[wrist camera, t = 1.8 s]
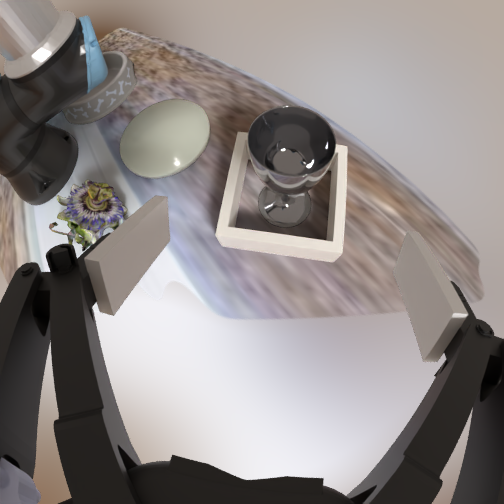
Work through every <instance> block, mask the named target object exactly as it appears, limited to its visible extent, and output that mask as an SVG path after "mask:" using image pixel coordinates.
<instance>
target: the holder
mask: <svg viewBox="0 0 504 504" xmlns="http://www.w3.org/2000/svg"><path fill="white" fill-rule="evenodd" d="M248 159H249V160H251V159H250V155H249V150H248V133H245V132H238V134H237V138H236V142H235V147H234V151H233V155H232V160H231V164H230V169H229V173H228V178H227V182H226V187H225V191H224V196H223V201H222V206H221V210H220V215H219V220H218V225H217V230H216V235H215V236H216V237H217V239H218V240H219V242H220V244H221V245H222V246H223V247H230V248H236V249H243V250H250V251H257V252H264V253H271V254H278V255H285V256H292V257H299V258H306V259H313V260H320V261H327V262H334V261H335V260H336V259H337V258H338V257H339V256H340V255H341V254H342V252H343V240H344V226H345V209H346V186H347V146H342V145H337V144H336V149H335V154H334V157H333V160H332V162H331V164H330V166H329V168H328V170H330V171H331V186H330V201H329V214H328V226H327V237H326V241H325V240H319V239H312V238H305V237H298V236H291V235H284V234H277V233H270V232H263V231H256V230H248V229H241V228H235V225H236V219H237V214H238V209H239V204H240V198H241V193H242V188H243V183H244V178H245V173H246V167H247V162H248Z"/></svg>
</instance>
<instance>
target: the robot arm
mask: <svg viewBox="0 0 504 504" xmlns="http://www.w3.org/2000/svg"><path fill="white" fill-rule="evenodd" d="M0 54H1V55H3V56H4V57H5V58H6V61H5V66H4V72H5V75H4V76H1V74H0V174H2V175H3V176H5V177H6V178H7V179H8V181H9V182H10V184H11V185H12V187H13V188H14V190H15V191H16V192H17V194H18V195H19V197H20V198H21V199H22V200H24V201H26V202H27V203H29V204H31V205H40V204H43V203H45V202H47V201H49V200H50V199H52V198H53V197H54V196H55V195H56V194H57V193H58V192H59V191H60V190H61V189H62V188H63V186H64V185H65V184H66V182H67V181H68V179H69V177H70V176H71V174H72V172H73V169H74V167H75V164H76V161H77V156H78V146H77V143H76V141H75V139H74V138H73V137H72V136H71V135H70V134H69V133H68V132H67V131H65V130H63V129H60V128H57V127H55V126H52V125H50V124H47V123H46V122H47V121H48V120H49V119H51V118H52V117H54V116H55V115H56V114H58V113H59V112H60V111H62V110H63V109H65V108H66V107H68V106H69V105H70V104H72V103H73V102H75V101H76V100H78V99H79V98H81V97H82V96H84V95H86V94H88V93H89V92H90V91H91V90H92V89H93V88H95V87H96V86H98V85H99V84H101V83H102V82H103V81H104V80H105V79H106V77H107V75H108V68H107V65H106V63H105V60H104V57H103V54H102V52H101V49H100V46H99V44H98V41H97V38H96V35H95V32H94V29H93V26H92V23H91V20H90V18H89V16H84V17H80V18H79V19H78V20H77V18H76V17H75V15H74V14H73V13H72V12H70V11H57V10H56V8H55V7H54V5H53V4H52V2H51V1H50V0H0ZM169 241H170V231H169V217H168V199H167V197H165V196H154V197H153V198H152V199H150V200H149V201H148V202H147V203H146V204H144V205H143V206H142V207H141V208H140V209H138V210H137V211H136V212H135V213H134V214H132V215H131V216H130V217H129V218H128V219H127V220H126V221H124V222H123V223H122V224H121V225H120V226H119V227H118V228H116V229H115V230H114V231H113V232H112V233H108V234H106V235H104V236H102V237H100V238H99V239H98V240H97V241H96V242H95V243H94V244H93V245H91V246H90V247H89V249H87V250H86V251H85V252H84V253H83V254H82V255H81V256H80V257H79V258H78V259H77V257H76V253H75V249H74V247H73V245H71V244H60V245H57V246H55V247H53V248H51V249H50V250H49V251H48V252H47V254H46V259H47V262H48V265H49V268H50V271H51V272H41V270H40V267H39V265H38V264H37V263H35V262H31V263H26V264H24V265H22V266H21V267H20V268H18V270H17V271H16V272H15V274H14V276H13V278H12V280H11V282H10V284H9V286H8V288H7V290H6V292H5V294H4V296H3V298H2V300H1V303H0V504H37V503H38V502H40V499H41V495H40V492H39V491H38V490H37V489H36V486H35V484H34V481H33V480H32V479H33V474H34V468H35V459H36V440H37V424H38V414H39V405H40V395H41V389H42V381H43V376H44V370H45V364H46V359H47V354H48V349H49V344H50V340H51V355H52V366H53V376H54V385H55V392H56V400H57V406H58V412H59V419H58V420H55V421H54V432H55V437H56V443H57V447H58V451H59V455H60V460H61V463H62V467H63V471H64V475H65V478H66V481H67V484H68V487H69V491H70V494H71V497H72V498H70V499H68V500H66V501H63V502H61V503H58V504H432V502H433V500H434V499H435V497H436V496H437V494H438V492H439V491H440V489H441V487H442V482H443V481H442V480H441V479H440V475H441V472H442V471H443V469H444V467H445V465H446V464H447V462H448V460H449V458H450V456H451V454H452V452H453V450H454V448H455V446H456V444H457V442H458V440H459V438H460V436H461V434H462V431H463V429H464V427H465V425H466V422H467V420H468V417H469V415H470V413H471V410H472V408H473V412H472V418H471V425H470V430H469V436H468V441H467V446H466V450H465V455H464V459H463V463H462V467H461V471H460V475H459V479H458V482H457V485H456V489H455V492H454V495H453V498H452V501H451V503H450V504H504V339H502V338H499V337H496V336H494V332H493V330H492V328H491V327H490V326H489V325H488V324H487V323H486V322H484V321H482V320H479V319H476V317H475V315H474V313H473V311H472V310H471V308H470V306H469V304H468V302H466V299H465V297H464V296H463V293H462V292H461V290H460V288H459V287H458V286H457V285H456V284H455V283H454V282H453V281H450V280H449V278H448V277H447V275H446V273H445V272H444V270H443V268H442V267H441V265H440V264H439V262H438V260H437V259H436V257H435V256H434V254H433V253H432V251H431V249H430V248H429V246H428V245H427V243H426V242H425V240H424V239H423V237H422V236H421V235H420V233H419V232H415V231H409V230H407V232H406V236H405V239H404V242H403V245H402V248H401V251H400V253H399V256H398V259H397V262H396V265H395V267H394V270H393V274H394V277H395V279H396V282H397V284H398V287H399V290H400V292H401V295H402V298H403V300H404V303H405V306H406V309H407V312H408V315H409V318H410V321H411V324H412V326H413V330H414V333H415V336H416V339H417V342H418V345H419V348H420V352H421V356H422V359H423V362H437V361H438V360H439V359H440V357H441V356H442V354H443V353H445V356H446V361H445V362H444V363H443V365H442V366H441V367H440V369H439V370H438V371H437V373H436V374H435V375H434V376H436V378H435V380H434V381H433V383H432V385H431V387H430V389H429V390H428V392H427V394H426V395H425V397H424V399H423V400H422V402H421V404H420V405H419V407H418V408H417V410H416V412H415V413H414V415H413V416H412V418H411V419H410V421H409V422H408V424H407V425H406V427H405V428H404V430H403V431H402V432H401V434H400V435H399V437H398V438H397V439H396V441H395V442H394V444H393V445H392V446H391V448H390V449H389V450H388V452H387V453H386V454H385V455H384V457H383V458H382V459H381V460H380V462H379V463H378V464H377V465H376V467H375V468H374V469H373V470H372V471H371V472H370V474H369V475H368V476H367V477H366V478H365V479H364V480H363V481H362V482H361V484H359V485H358V486H357V487H356V488H354V489H353V490H352V491H351V492H350V493H349V494H348V495H347V496H345V495H344V494H342V493H340V492H338V491H336V490H335V489H332V488H329V487H327V486H323V478H302V477H288V476H285V477H277V478H268V479H258V480H244V479H241V478H239V477H236V476H234V475H231V474H229V473H227V472H225V471H222V470H220V469H218V468H216V467H214V466H211V465H209V464H206V463H202V462H198V461H194V460H190V459H186V458H182V457H178V456H175V455H172V457H171V460H170V461H159V462H158V461H157V462H151V463H146V464H141V462H140V460H139V458H138V456H137V454H136V452H135V450H134V448H133V447H132V445H131V442H130V440H129V437H128V434H127V432H126V429H125V426H124V424H123V421H122V418H121V415H120V412H119V409H118V406H117V403H116V400H115V397H114V394H113V390H112V387H111V383H110V380H109V376H108V373H107V369H106V365H105V361H104V357H103V353H102V349H101V345H100V340H99V336H98V331H97V326H96V321H95V317H94V312H93V309H92V306H93V305H94V304H95V303H96V302H97V305H98V308H99V311H100V312H102V313H106V314H109V315H113V316H114V315H115V313H116V312H117V311H118V309H119V308H120V306H121V305H122V304H123V302H124V300H125V299H126V298H127V297H128V295H129V294H130V293H131V291H132V290H133V288H134V287H135V286H136V284H137V283H138V282H139V280H140V279H141V278H142V276H143V275H144V274H145V272H146V271H147V270H148V268H149V267H150V266H151V264H152V263H153V262H154V261H155V259H156V258H157V257H158V255H159V254H160V253H161V252H162V250H163V249H164V248H165V246H166V245H167V244H168V243H169Z"/></svg>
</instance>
